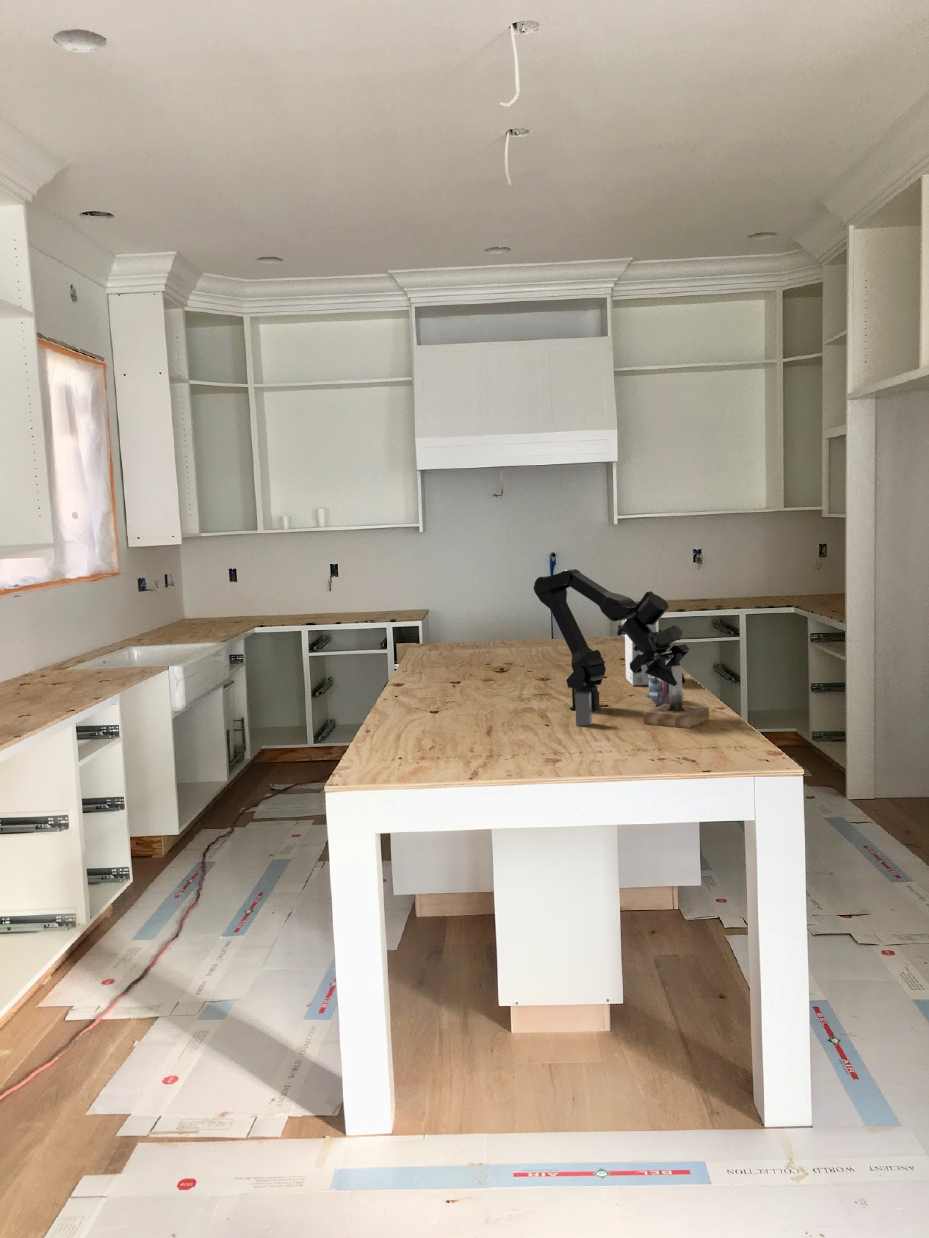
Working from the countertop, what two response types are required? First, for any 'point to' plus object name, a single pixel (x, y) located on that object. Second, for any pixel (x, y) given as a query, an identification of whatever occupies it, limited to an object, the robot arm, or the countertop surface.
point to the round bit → (676, 689)
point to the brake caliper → (658, 691)
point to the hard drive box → (629, 656)
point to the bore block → (676, 716)
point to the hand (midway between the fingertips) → (680, 683)
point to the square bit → (583, 708)
